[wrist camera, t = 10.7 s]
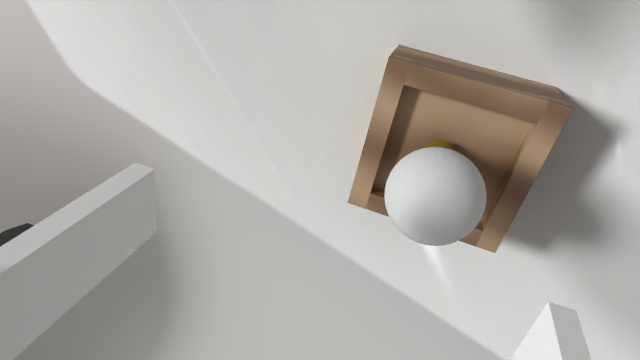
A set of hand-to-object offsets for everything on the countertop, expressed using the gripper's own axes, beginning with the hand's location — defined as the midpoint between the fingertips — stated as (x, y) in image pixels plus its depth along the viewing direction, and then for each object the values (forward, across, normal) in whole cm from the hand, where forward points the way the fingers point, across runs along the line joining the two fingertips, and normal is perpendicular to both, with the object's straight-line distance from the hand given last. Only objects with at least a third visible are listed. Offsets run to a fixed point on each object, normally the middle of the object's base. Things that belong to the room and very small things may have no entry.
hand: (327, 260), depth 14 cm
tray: (+23, +4, -4) cm, 24 cm away
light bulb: (+20, +4, -3) cm, 20 cm away
